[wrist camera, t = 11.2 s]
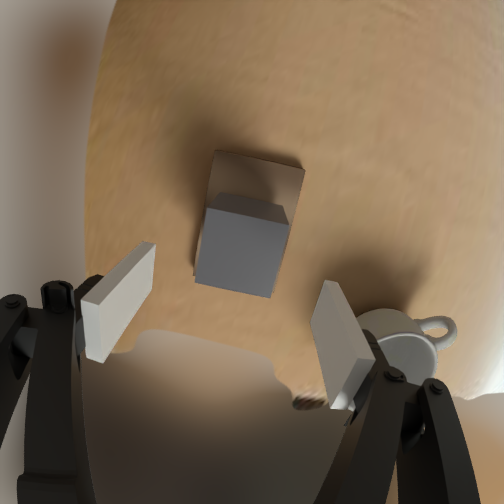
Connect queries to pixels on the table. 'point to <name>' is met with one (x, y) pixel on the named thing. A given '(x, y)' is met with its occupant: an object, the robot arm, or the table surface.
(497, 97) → the table surface
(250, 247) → the grey upright block
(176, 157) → the table surface
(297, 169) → the stand
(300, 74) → the table surface
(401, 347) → the teacup
